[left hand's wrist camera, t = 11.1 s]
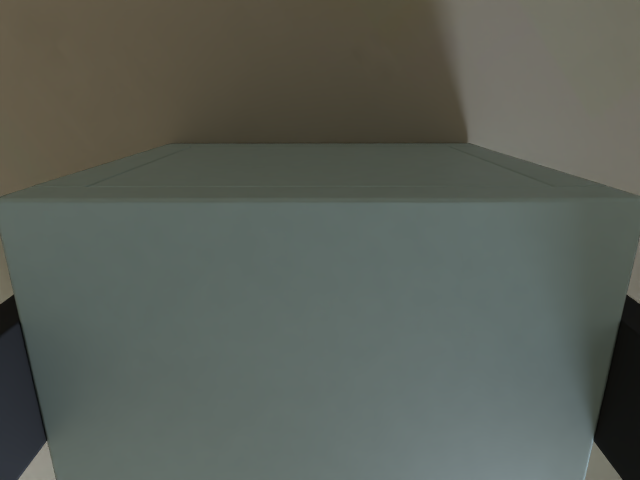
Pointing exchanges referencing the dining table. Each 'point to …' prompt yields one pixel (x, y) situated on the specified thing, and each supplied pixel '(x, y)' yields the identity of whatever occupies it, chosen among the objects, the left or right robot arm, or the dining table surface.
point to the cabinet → (320, 312)
